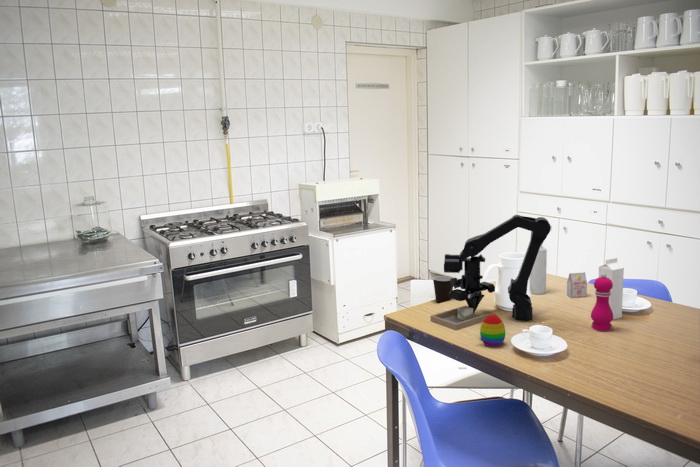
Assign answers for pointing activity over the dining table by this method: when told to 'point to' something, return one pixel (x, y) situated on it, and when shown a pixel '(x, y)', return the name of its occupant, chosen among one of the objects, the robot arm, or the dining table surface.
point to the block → (465, 313)
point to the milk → (614, 285)
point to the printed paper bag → (577, 285)
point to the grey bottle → (539, 273)
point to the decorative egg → (492, 331)
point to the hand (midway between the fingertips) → (472, 313)
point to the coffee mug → (442, 288)
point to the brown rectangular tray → (455, 319)
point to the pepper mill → (602, 304)
